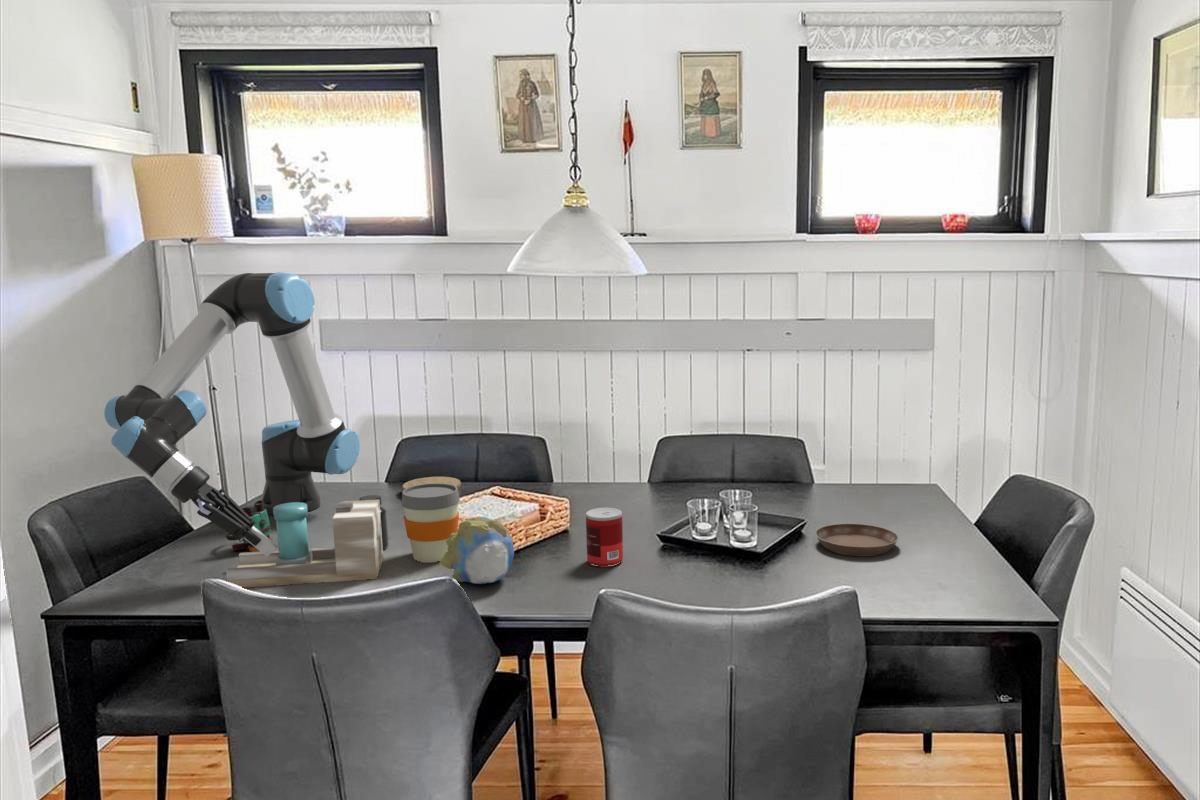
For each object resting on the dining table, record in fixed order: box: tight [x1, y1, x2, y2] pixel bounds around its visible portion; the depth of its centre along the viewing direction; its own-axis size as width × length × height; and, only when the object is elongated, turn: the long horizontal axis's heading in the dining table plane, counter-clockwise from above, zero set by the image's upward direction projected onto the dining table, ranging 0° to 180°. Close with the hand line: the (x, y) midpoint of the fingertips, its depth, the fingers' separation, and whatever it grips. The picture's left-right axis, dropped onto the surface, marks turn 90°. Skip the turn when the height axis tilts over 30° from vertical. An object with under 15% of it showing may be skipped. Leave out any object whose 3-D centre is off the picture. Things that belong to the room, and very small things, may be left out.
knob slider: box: [273, 502, 313, 565], centre depth 201 cm, size 7×7×13 cm
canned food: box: [585, 507, 624, 566], centre depth 204 cm, size 8×8×11 cm
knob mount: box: [225, 499, 384, 588], centre depth 201 cm, size 13×30×14 cm, turn 97°
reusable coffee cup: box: [401, 483, 460, 563], centre depth 210 cm, size 13×13×15 cm
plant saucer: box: [815, 523, 899, 557], centre depth 211 cm, size 18×18×3 cm
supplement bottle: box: [358, 494, 390, 551], centre depth 217 cm, size 7×7×12 cm
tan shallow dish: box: [402, 476, 462, 495], centre depth 264 cm, size 16×16×3 cm
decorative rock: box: [439, 516, 515, 585], centre depth 195 cm, size 14×16×15 cm
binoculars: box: [225, 499, 273, 552], centre depth 220 cm, size 9×11×10 cm
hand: (272, 551), depth 200 cm, fingers closed
